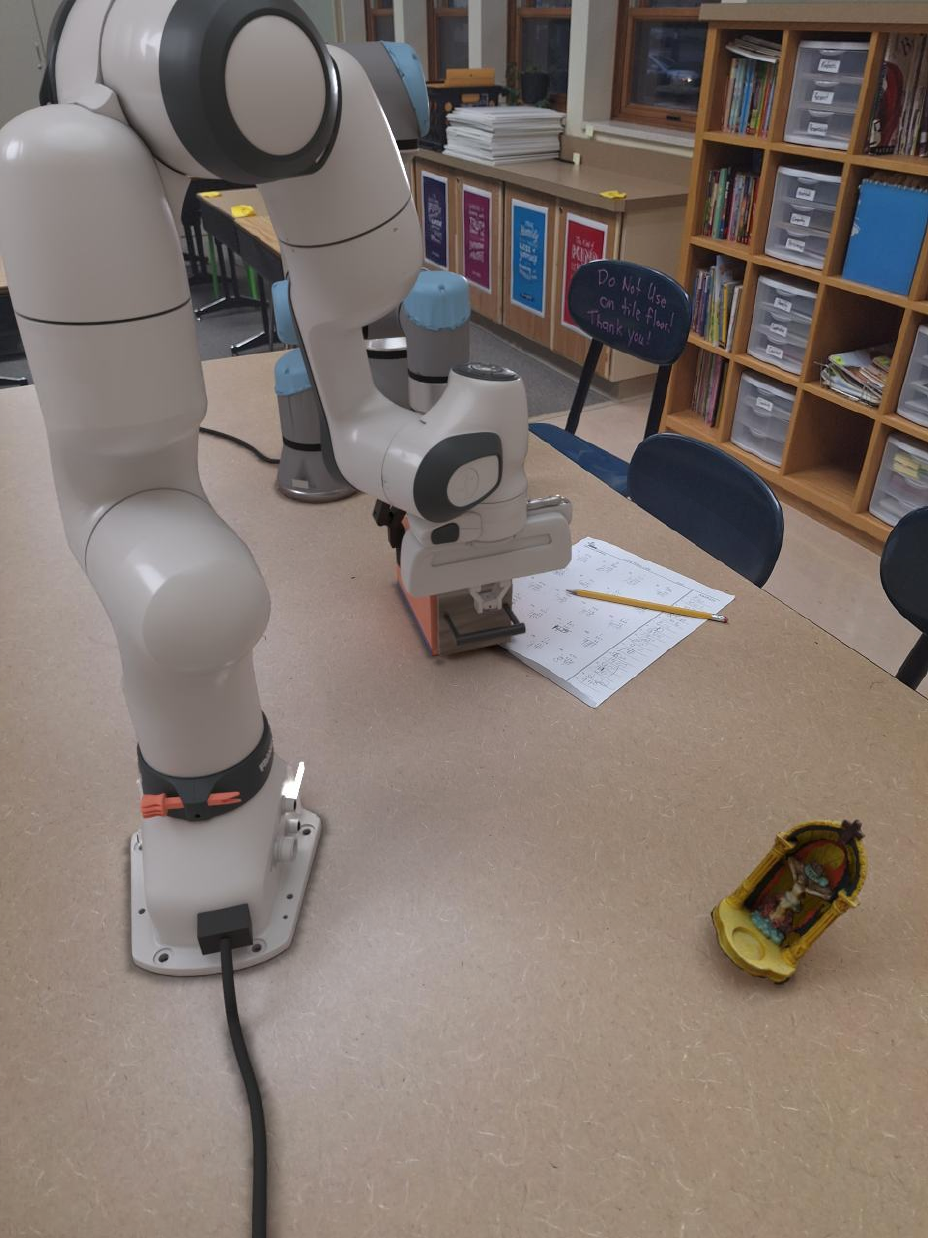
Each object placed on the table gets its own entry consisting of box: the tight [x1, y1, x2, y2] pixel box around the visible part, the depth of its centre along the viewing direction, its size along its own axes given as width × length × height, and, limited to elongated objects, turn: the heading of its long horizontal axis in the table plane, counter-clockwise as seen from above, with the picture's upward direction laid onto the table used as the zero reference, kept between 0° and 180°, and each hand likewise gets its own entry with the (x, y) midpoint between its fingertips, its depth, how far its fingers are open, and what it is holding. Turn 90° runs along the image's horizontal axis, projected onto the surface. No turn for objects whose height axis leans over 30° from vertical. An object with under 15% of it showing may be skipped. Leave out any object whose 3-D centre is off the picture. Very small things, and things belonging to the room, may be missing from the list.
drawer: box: [436, 582, 527, 657], centre depth 112 cm, size 22×10×9 cm, turn 18°
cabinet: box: [396, 516, 513, 657], centre depth 116 cm, size 18×11×11 cm, turn 18°
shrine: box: [710, 818, 868, 986], centre depth 72 cm, size 12×8×15 cm
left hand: (487, 608), depth 104 cm, fingers closed
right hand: (442, 558), depth 119 cm, fingers closed on cabinet, 11 cm apart
